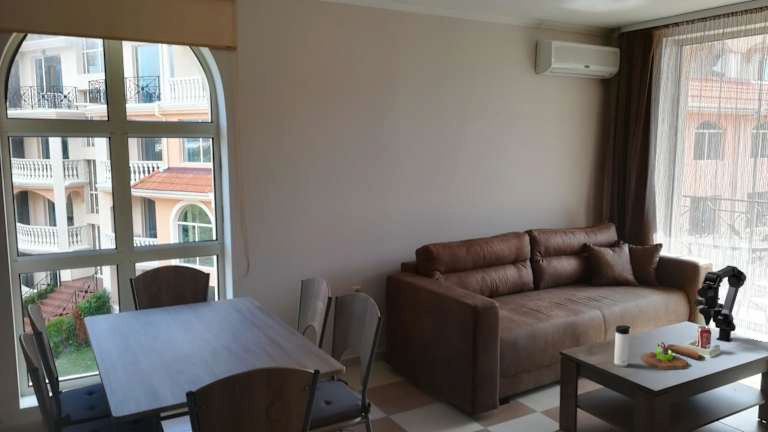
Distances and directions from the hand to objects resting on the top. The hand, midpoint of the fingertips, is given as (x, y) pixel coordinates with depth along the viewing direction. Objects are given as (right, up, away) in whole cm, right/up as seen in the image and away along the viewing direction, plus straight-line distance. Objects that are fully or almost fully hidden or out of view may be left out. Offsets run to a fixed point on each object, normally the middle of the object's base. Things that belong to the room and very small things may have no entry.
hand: (710, 323), depth 316 cm
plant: (-37, -16, -23) cm, 46 cm away
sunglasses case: (-19, -14, -12) cm, 27 cm away
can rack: (-9, -13, -8) cm, 18 cm away
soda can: (-9, -12, -8) cm, 17 cm away
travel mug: (-59, -16, -26) cm, 66 cm away
